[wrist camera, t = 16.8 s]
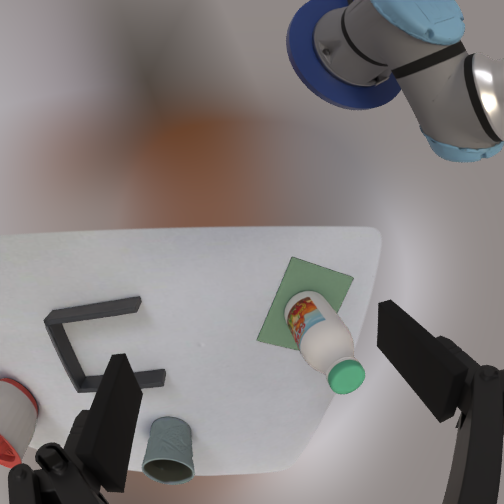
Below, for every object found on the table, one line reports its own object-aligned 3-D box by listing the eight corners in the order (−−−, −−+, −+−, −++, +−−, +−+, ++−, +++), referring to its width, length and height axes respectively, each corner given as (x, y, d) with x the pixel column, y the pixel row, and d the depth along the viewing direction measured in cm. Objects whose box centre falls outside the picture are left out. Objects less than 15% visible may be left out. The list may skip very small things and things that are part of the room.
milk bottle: (320, 282, 53) (373, 345, 34) (330, 319, 55) (380, 388, 36) (277, 299, 53) (312, 372, 34) (290, 335, 55) (326, 413, 36)
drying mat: (291, 256, 51) (292, 257, 51) (353, 277, 54) (353, 277, 53) (256, 339, 55) (256, 340, 54) (315, 353, 57) (316, 354, 57)
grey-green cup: (195, 417, 58) (195, 461, 47) (193, 446, 61) (193, 487, 50) (146, 412, 57) (139, 455, 45) (149, 441, 59) (143, 482, 48)
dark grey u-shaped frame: (83, 380, 53) (77, 394, 49) (52, 310, 48) (41, 322, 44) (166, 372, 55) (163, 388, 50) (140, 296, 50) (134, 308, 45)
